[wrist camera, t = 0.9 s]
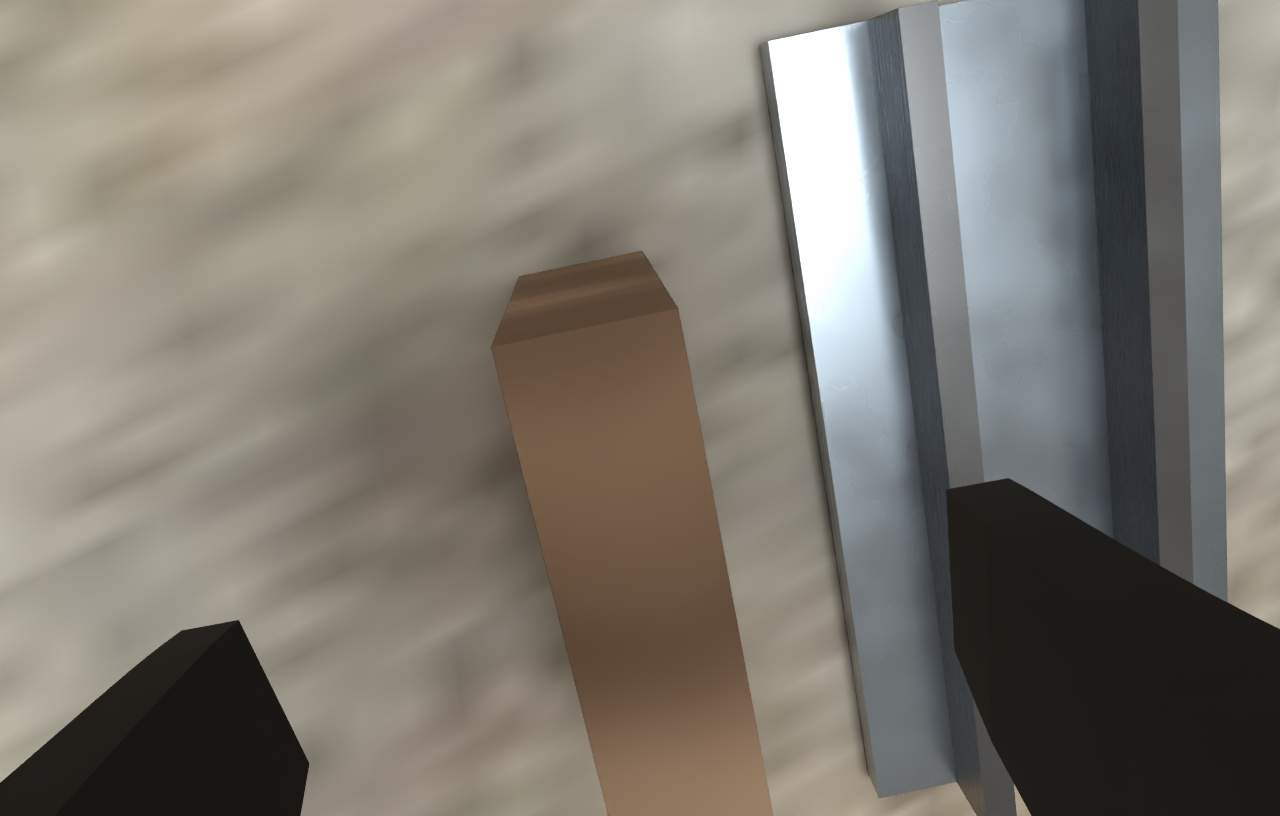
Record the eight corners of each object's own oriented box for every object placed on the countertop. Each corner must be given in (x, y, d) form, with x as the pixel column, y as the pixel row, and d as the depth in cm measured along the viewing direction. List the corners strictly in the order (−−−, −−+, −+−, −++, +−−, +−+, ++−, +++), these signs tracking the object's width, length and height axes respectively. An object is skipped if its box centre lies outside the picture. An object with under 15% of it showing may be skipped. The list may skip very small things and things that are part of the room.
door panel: (725, 678, 26) (790, 907, 18) (619, 701, 26) (638, 939, 18) (641, 250, 22) (678, 308, 15) (519, 276, 22) (491, 347, 15)
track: (1205, 702, 27) (1281, 769, 24) (868, 774, 27) (903, 850, 24) (1188, -43, 21) (1284, -72, 18) (759, 45, 21) (789, 30, 18)
